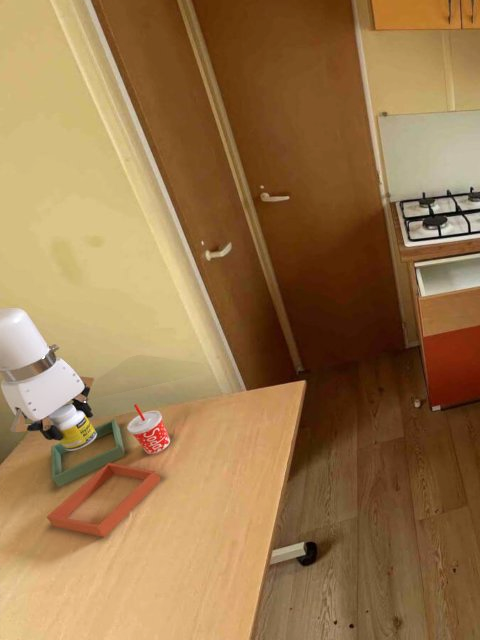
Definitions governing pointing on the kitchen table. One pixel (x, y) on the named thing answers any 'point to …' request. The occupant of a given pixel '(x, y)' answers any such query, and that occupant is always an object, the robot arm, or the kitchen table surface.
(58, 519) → the bin
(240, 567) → the kitchen table surface
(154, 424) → the beverage cup
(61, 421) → the supplement bottle
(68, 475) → the bin
